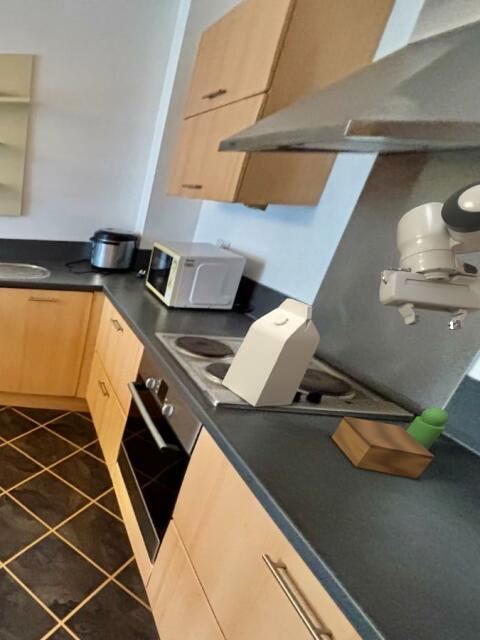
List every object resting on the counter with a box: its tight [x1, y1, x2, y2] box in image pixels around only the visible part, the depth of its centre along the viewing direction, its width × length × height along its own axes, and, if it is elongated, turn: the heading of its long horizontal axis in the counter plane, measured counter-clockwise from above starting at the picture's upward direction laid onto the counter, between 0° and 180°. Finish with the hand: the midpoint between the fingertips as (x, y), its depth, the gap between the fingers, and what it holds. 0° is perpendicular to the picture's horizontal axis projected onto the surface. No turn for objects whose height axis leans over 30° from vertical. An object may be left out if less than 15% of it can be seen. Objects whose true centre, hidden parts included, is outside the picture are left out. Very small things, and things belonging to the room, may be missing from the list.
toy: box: [405, 407, 450, 451], centre depth 93 cm, size 5×5×10 cm
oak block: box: [331, 416, 435, 479], centre depth 90 cm, size 11×11×6 cm
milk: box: [221, 298, 321, 408], centre depth 107 cm, size 12×12×26 cm
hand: (434, 326), depth 94 cm, fingers open, 8 cm apart
